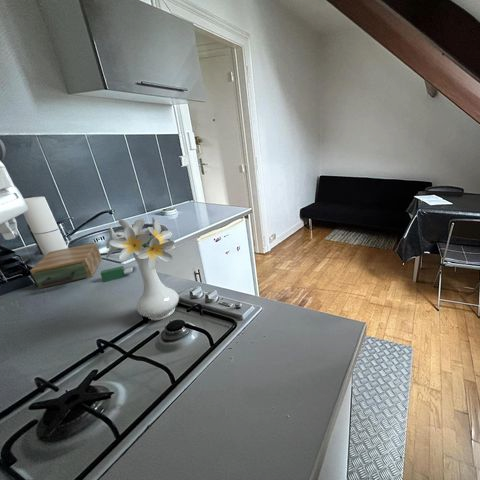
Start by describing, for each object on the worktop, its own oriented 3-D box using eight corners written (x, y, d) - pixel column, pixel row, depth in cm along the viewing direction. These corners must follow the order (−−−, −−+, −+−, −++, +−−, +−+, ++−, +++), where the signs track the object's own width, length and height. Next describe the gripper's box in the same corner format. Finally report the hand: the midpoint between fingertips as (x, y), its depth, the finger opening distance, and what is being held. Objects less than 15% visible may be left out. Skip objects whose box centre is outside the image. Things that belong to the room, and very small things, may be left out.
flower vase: (166, 339, 59) (130, 236, 50) (117, 319, 66) (79, 227, 57) (210, 306, 70) (188, 216, 60) (164, 292, 77) (138, 211, 68)
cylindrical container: (43, 265, 100) (11, 202, 90) (55, 258, 106) (26, 197, 97) (65, 262, 101) (35, 199, 92) (75, 255, 108) (49, 195, 99)
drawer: (85, 282, 84) (79, 269, 82) (33, 294, 79) (25, 280, 77) (98, 258, 101) (93, 247, 100) (56, 267, 96) (50, 255, 94)
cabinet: (92, 276, 89) (85, 259, 87) (39, 288, 83) (29, 270, 81) (102, 258, 104) (96, 243, 101) (57, 267, 98) (49, 251, 95)
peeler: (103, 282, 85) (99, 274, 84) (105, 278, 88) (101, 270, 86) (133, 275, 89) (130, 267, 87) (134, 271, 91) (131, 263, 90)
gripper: (-12, 179, 67) (14, 229, 72) (-69, 190, 51) (-30, 254, 56) (21, 176, 70) (44, 224, 75) (-22, 186, 53) (11, 247, 59)
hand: (13, 237), depth 65 cm, fingers closed
